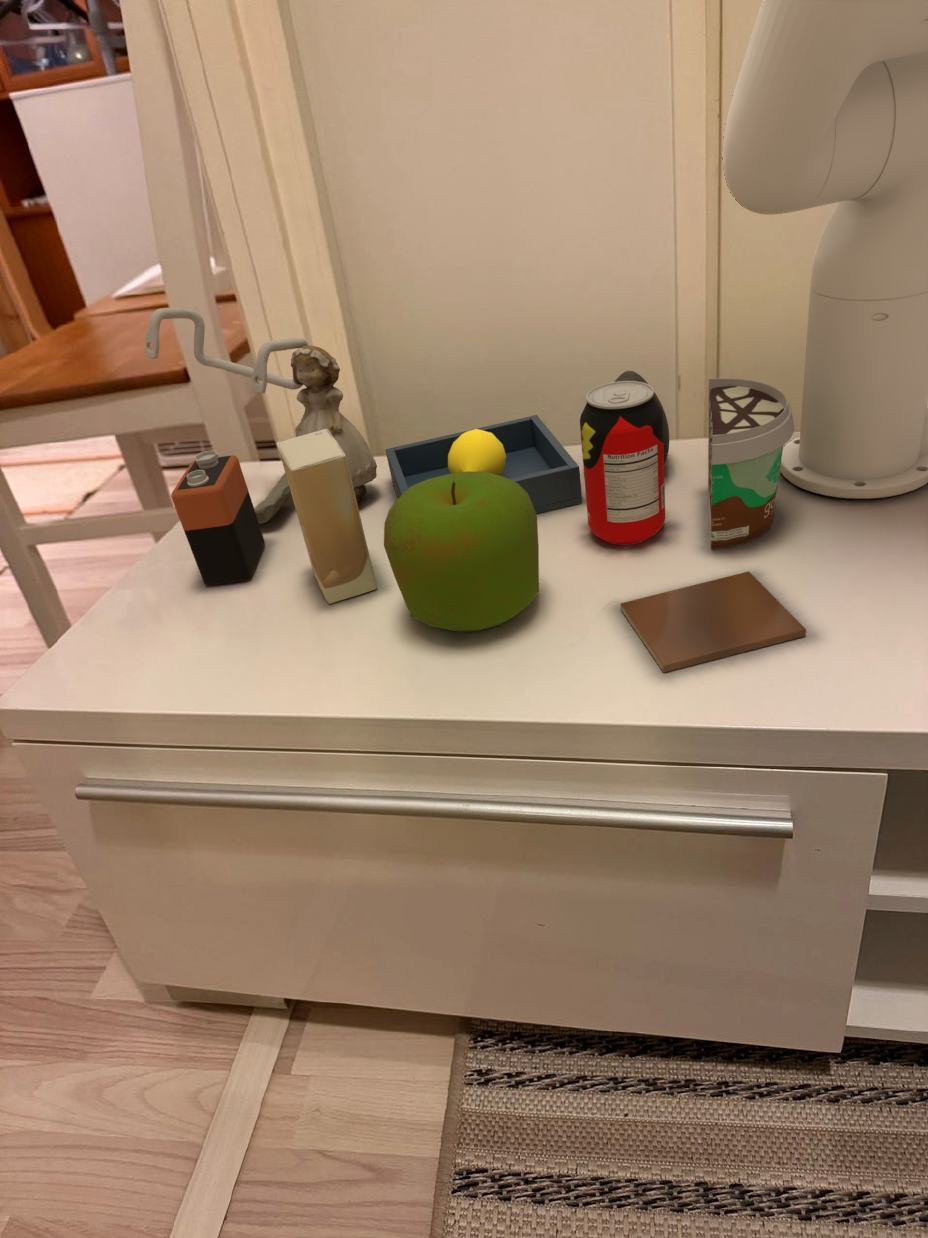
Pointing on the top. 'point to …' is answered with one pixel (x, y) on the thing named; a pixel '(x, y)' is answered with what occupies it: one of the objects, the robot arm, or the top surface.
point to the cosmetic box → (328, 514)
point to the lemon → (477, 453)
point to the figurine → (330, 412)
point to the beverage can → (623, 462)
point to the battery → (218, 518)
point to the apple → (464, 550)
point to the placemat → (710, 621)
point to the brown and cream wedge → (744, 457)
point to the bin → (527, 462)
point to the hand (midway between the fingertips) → (704, 209)
